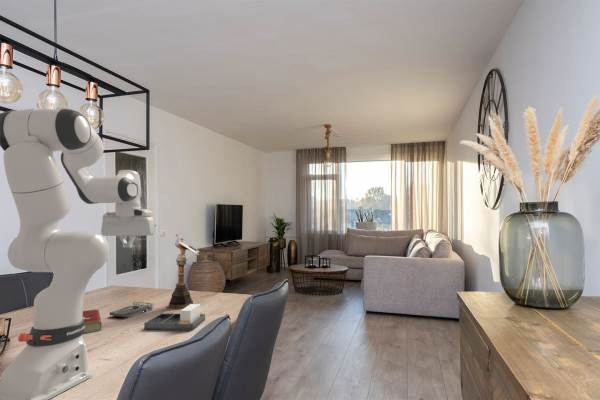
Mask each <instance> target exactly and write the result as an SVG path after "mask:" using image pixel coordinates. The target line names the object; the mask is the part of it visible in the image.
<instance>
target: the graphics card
mask: <svg viewBox="0 0 600 400" xmlns="http://www.w3.org/2000/svg"><path fill="white" fill-rule="evenodd" d="M153 310H155V306H154V302H153V303H152V302H143V301H133V302H132V305H128V306H125V307H122V308H119V309H116V310H113V311H109V316H114V317H121V318H131V317H134V316H137V315H138V314H140V313H141V314H140V315H143V314H146V313H149V312H152V311H153ZM143 311H144V312H143Z"/></svg>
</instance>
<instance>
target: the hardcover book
mask: <svg viewBox="0 0 600 400" xmlns="http://www.w3.org/2000/svg"><path fill="white" fill-rule="evenodd" d="M83 319H84V325H85V328H84V333H83V334H85V333H91V332H97V331H102V326H103V325H102V319H101V315H100V310H99V308H96V309H88V310H83Z"/></svg>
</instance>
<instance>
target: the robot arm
mask: <svg viewBox="0 0 600 400" xmlns="http://www.w3.org/2000/svg"><path fill="white" fill-rule="evenodd" d="M0 147H1V149H2V150H3V151H4V152H3V164H4V165H3V166H4V171H5V177H6V179H7V184H8V188H9V190H10V192H11V194H12V195H11V196H12V198H13V201H14V204H15V207H16V209H17V212H18V217H19V224H20V226H19V230H18V231H19V232H18V234H17V236H16V237H15V238H14V239H13V240H12V241H11V243H10V244H9V247H8V249H7V258H8V261H9V263H10V264H11V266H13V267H14V268H15V269H19V270H22V271H27V272H32V273H53V277H52V280H51V282H50V285H49V286H48V287H46V288H44V289H42V290H41V291H40V292H38V293H37V294H36V295H35V297H34V300H33V317H32V318H33V322H32V327H31V328H30V331H29V332H28V333H23V332H21V333H19V335H18V336H17V341H18V342H19V343H22V342H24V343H26V345H25V346H24V347H23V349H22V350H21V351H20V352H19V353H18V354H17V356H16V357H15V358H14V359H13V360H12V361H11V363H10V364H8V366H7V367H6V368H5V369H4V370H3V372H2V374H1V376H0V400H51V399H52V398H54V397H55V396H58V395H59V394H61V393H63V392H65V391H67V390H69V389H71V388H74V387H75V386H77V385H79V384H81V383H83V382H84V381H86V380H88V379H90V378H92V377H93V376H92V375H93V374H92V371H91V370H90V369H89V360H88V350H87V345H86V342H85V339H84V334H85V333H84V328H85V325H84V319H83V311H84V297H85V293H86V288H87V285H88V283H89V282H90V280H91V278H92V277H93V275H94V274H95V273H96V272H97V271H98V270H99V269H101V268H102V267H103V266H104V265H105V264H106V263H107V261H108V259H109V257H110V252H111V251H110V244H109V242H108V240H107V239H106V238H105V237H113V236H114V237H115V236H116V237H117V236H118V237H119V239H120V242H121V243H122V248H123V249H125V248H133V244H134V241H135V240H136V237H137V236H138V237H140V236H144V237H147V236H148V237H149V236H153V235H154V234H155V232H156V231H155V230H156V228H155V225H156V224H155V220H154V217H153V215H154V211H152V210H149V209H146V208H144V207H141V200H140V197H141V194H142V190H141V189H142V188H141V187H142V186H141V184H142V183H141V177H140V174H139V173H138V172H137V171H135V170H131V169H120V170H118V172H117V174H116V175H115V176H114V175H113V176H97V175H92V174H89V173H88V170H87V167H88V168H89V167H91V166H93V165H95V164H96V163H98V161H99V160H100V159H102V156H103V154H104V150H105V149H104V148H105V146H104V143H103V140H102V138H101V136H100V135H99V134H98V133H97V131H96V130H95V128H94V127H93V126H92V124H91V123H90V122H89V119H88V118H87V117H86V116H85V115H84V114H83V113H81V112H80V111H78V110H76V109H75V108H73V107H67V106H64V107H63V106H62V107H58V108H57V107H56V108H55V109H53V108H39V107H37V108H25V109H20V110H16V109H13V110H7V111H3V112H1V113H0ZM54 152H61V154H60V162H61V164H62V167H63V169H64V170H65V172H66V174H67V175H68V177H69V179H70V180H71V182H72V183H73V185H74V187H75V188H76V191H77V195H78V196H79V199H80V200H81V201H83V203H86V204H87V205H92V204H93V205H94V204H114V203H115V209H114V210H115V211H112V212H110V211H108V212H105V213H104V214H103V215H102V223H101V228H100V234H98V233H94V232H89V231H88V232H87V231H63V230H61V227H60V221H62V220H63V219H64V218H65V217H67V215H68V214H69V212H70V210H71V207H72V206H71V201H70V198H69V194H68V191H67V188H66V184H65V182H64V179H63V178H64V177H63V176H62V173H61V171H60V168H59V165H58V164H57V160H56V159H55V157H54ZM127 237H128V239H129V241H128V242H127Z"/></svg>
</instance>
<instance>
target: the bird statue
mask: <svg viewBox="0 0 600 400" xmlns="http://www.w3.org/2000/svg"><path fill="white" fill-rule="evenodd" d="M175 237H176V238H177V239H175V242H174V243H175V244H174V245H175V246H176V248H178V249H179V250H180V253H179V254H177V258H176V259H175V261H176V266H178V267H177V268H178V273H177V276H178V280H177V281H178V282H177V283H176V284H175V288H174V291H172V293H171V298H170V301H169V302H168V309H173V308H174V310H177V309H179V310H180V308H181V309H184V308H185V307H187V306H188V305H190V304H194V300H193V298H192V297H191V292H190V290H188V287H187V284H186V282H185V279H184V278H185V265H187V260H188V259H187V258H186V251H187V250H190V251H191V252H192V253H194V254H195V255H197V256H198V257H199V256H200V250H198V249H197V248H195V247H193V245H187V244H186V243H185V242H184V238H183V237H182V236H181V235H180V234H178V233H176V234H175Z"/></svg>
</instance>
